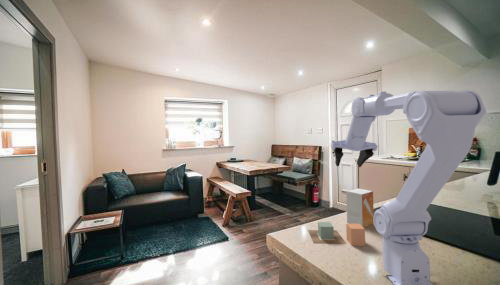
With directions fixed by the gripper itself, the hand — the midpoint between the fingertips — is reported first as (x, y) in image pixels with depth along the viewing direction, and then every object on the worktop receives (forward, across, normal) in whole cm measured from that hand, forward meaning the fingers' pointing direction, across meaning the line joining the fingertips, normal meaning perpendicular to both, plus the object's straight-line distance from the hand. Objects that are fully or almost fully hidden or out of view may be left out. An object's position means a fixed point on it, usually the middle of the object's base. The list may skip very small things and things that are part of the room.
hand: (347, 164), depth 77 cm
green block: (+16, +9, +19) cm, 26 cm away
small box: (+22, -7, +9) cm, 25 cm away
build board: (+16, +9, +19) cm, 27 cm away
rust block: (+14, +1, +23) cm, 26 cm away
